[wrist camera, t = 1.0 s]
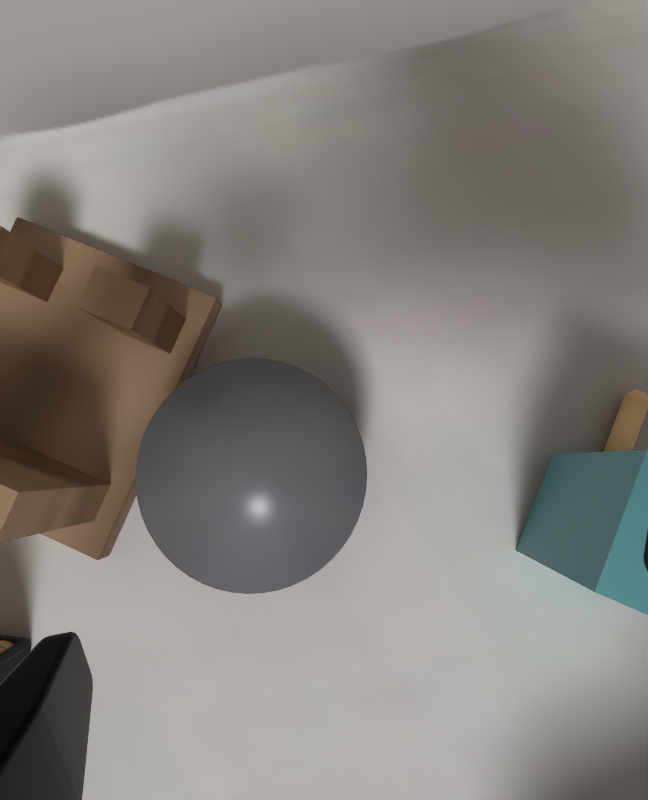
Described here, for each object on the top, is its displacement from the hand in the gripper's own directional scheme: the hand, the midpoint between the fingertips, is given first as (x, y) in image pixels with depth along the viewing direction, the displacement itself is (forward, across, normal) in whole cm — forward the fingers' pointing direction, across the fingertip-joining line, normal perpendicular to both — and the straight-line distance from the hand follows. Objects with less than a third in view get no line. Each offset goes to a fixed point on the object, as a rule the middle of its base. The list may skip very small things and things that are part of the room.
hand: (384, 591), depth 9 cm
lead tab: (+10, -11, +6) cm, 16 cm away
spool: (+13, +1, +5) cm, 14 cm away
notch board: (+16, +9, +1) cm, 19 cm away
